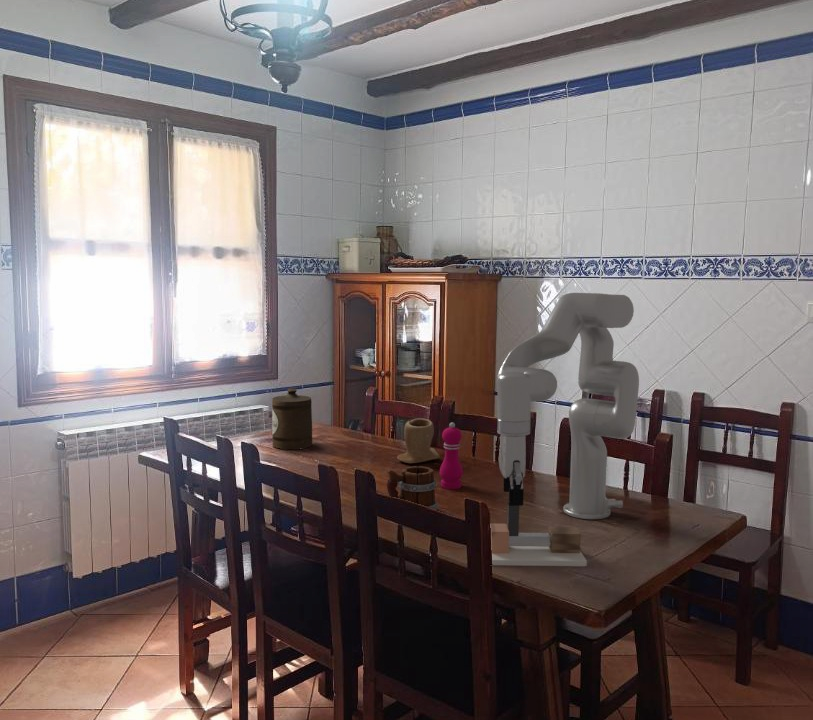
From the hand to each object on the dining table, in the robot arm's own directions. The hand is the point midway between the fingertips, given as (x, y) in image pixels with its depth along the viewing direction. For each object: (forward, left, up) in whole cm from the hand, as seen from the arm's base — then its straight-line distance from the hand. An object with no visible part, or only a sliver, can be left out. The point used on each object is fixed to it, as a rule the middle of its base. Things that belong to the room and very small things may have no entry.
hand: (513, 498), depth 173 cm
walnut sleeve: (-12, +1, -12) cm, 17 cm away
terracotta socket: (+3, +1, -12) cm, 12 cm away
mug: (+23, -28, -14) cm, 39 cm away
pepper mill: (+11, -54, -13) cm, 57 cm away
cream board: (-5, +1, -13) cm, 14 cm away
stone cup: (+20, -84, -14) cm, 88 cm away
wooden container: (+68, -106, -14) cm, 127 cm away
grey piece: (-3, +1, -11) cm, 11 cm away
